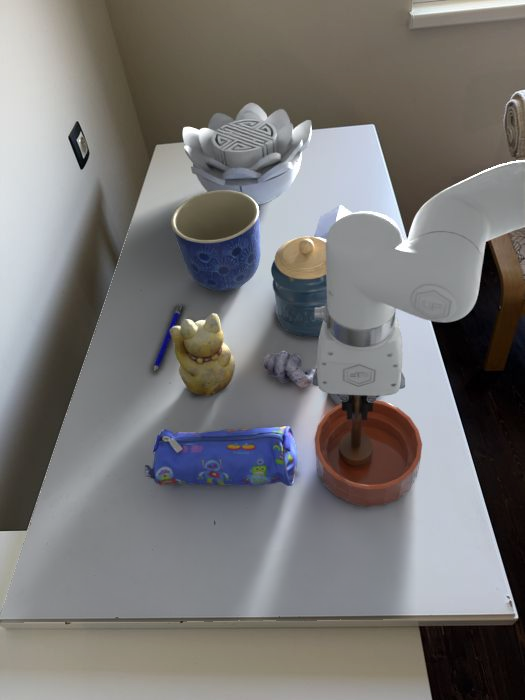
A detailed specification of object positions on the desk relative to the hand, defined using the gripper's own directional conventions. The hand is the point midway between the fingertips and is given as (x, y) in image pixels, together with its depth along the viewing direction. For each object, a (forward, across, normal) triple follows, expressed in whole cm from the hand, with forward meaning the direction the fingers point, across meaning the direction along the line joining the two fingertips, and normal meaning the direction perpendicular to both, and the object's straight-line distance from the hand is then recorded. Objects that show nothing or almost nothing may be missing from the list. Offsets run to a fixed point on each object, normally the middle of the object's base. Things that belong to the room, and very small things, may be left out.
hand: (357, 411), depth 77 cm
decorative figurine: (+13, -25, +14) cm, 31 cm away
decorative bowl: (+13, -27, +73) cm, 79 cm away
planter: (+13, -28, +42) cm, 52 cm away
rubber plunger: (+11, 0, 0) cm, 11 cm away
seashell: (+13, -12, +16) cm, 24 cm away
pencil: (+13, -36, +24) cm, 45 cm away
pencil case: (+13, -20, -3) cm, 24 cm away
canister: (+13, -9, +31) cm, 35 cm away
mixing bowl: (+13, +2, 0) cm, 13 cm away
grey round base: (+13, 0, +13) cm, 18 cm away
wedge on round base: (+13, -5, +51) cm, 53 cm away
